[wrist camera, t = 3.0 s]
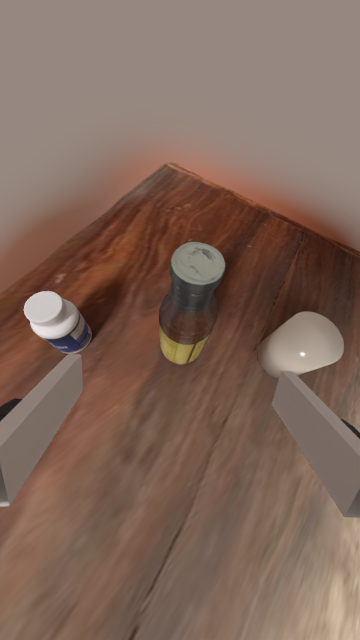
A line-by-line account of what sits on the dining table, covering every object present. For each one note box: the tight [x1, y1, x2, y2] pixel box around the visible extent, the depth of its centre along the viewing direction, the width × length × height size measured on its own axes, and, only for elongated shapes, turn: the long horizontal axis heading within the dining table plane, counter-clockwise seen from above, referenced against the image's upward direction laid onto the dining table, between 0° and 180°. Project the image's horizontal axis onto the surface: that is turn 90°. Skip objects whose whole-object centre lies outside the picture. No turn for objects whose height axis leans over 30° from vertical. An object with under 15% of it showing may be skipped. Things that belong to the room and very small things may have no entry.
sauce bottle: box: [159, 242, 225, 365], centre depth 24 cm, size 7×6×20 cm
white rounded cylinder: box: [257, 311, 344, 379], centre depth 30 cm, size 7×7×9 cm
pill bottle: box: [24, 291, 92, 354], centre depth 27 cm, size 5×5×10 cm
